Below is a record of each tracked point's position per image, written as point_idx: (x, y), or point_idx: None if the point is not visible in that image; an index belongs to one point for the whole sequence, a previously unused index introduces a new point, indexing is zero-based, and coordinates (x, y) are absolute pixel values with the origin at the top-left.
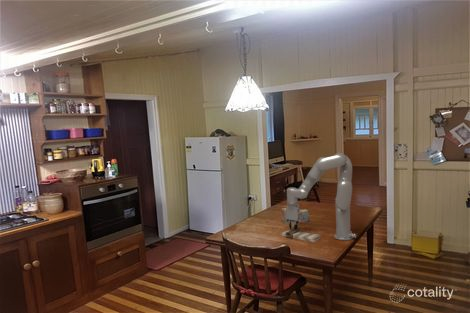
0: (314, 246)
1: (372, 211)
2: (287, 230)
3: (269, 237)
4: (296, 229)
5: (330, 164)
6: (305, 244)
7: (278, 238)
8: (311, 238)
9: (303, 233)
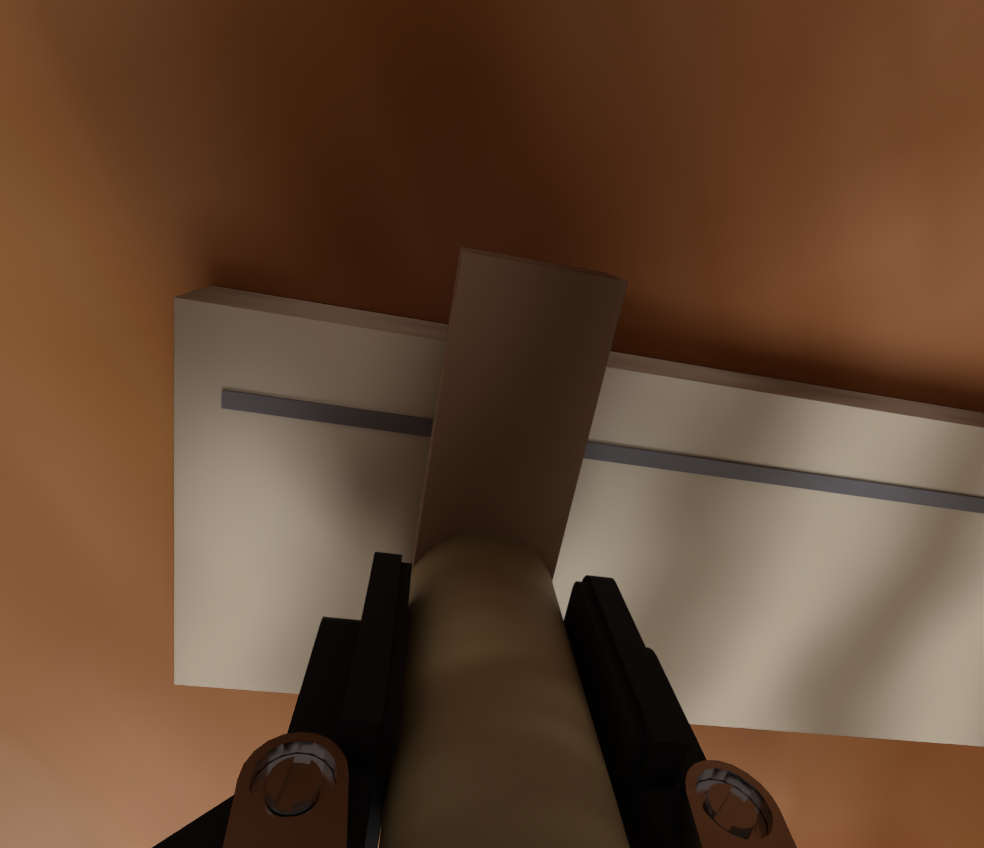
0: (977, 845)
1: None
2: (195, 420)
3: (9, 807)
4: (548, 487)
5: None
6: (827, 833)
7: (230, 785)
8: (979, 731)
9: (762, 501)
